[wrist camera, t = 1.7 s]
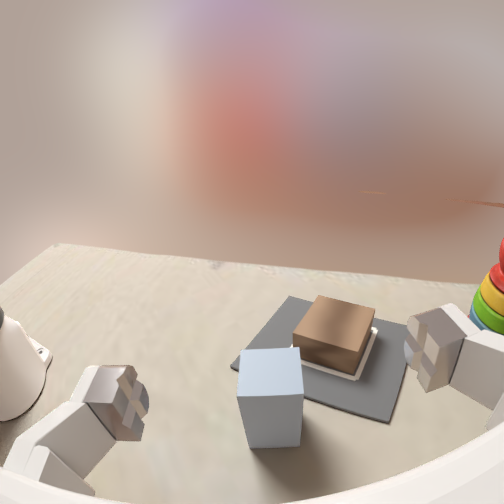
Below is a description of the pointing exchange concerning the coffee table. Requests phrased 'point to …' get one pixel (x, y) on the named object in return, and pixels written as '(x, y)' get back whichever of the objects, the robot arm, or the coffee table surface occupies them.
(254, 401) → the pillar
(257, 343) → the build mat
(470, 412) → the coffee table surface
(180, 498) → the coffee table surface
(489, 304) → the stacking bear
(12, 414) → the robot arm
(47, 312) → the coffee table surface
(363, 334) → the base block
